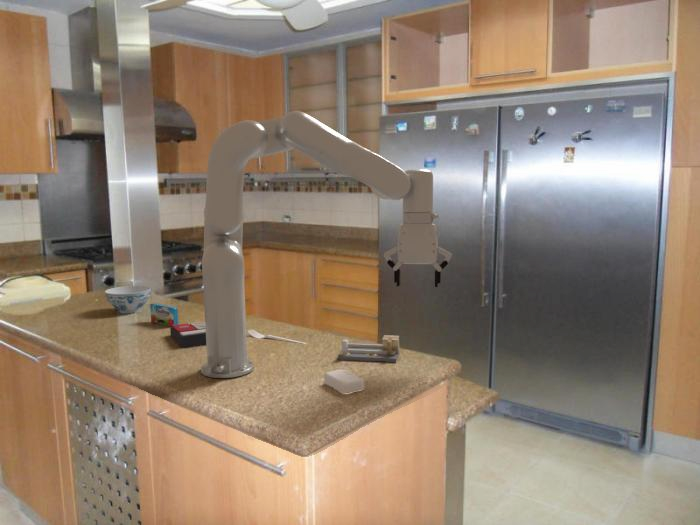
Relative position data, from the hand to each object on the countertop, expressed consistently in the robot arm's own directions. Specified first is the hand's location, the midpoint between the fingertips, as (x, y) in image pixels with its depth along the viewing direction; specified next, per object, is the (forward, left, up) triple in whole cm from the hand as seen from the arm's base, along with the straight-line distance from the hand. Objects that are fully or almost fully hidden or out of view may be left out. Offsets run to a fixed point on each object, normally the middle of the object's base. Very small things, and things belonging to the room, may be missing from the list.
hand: (417, 285), depth 149 cm
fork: (+10, +41, -19) cm, 46 cm away
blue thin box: (+22, +82, -19) cm, 87 cm away
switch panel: (-2, +12, -19) cm, 22 cm away
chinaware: (+37, +103, -19) cm, 111 cm away
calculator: (+7, +65, -19) cm, 68 cm away
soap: (-25, +15, -19) cm, 35 cm away
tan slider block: (-1, +7, -17) cm, 19 cm away
